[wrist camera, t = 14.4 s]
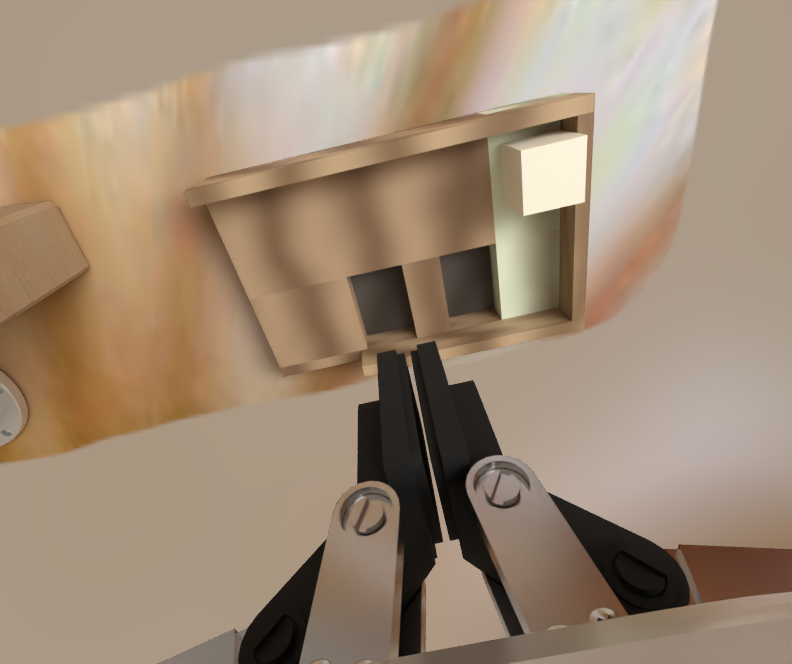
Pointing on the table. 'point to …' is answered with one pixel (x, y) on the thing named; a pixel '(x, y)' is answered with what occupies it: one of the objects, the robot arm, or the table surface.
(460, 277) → the box
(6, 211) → the decorative block
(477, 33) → the table surface
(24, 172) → the table surface
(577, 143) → the ivory block
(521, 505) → the robot arm
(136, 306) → the table surface
